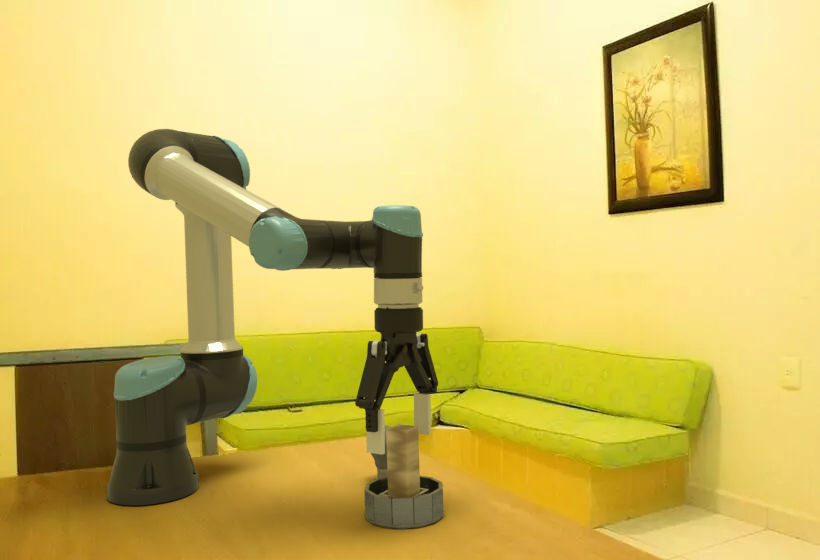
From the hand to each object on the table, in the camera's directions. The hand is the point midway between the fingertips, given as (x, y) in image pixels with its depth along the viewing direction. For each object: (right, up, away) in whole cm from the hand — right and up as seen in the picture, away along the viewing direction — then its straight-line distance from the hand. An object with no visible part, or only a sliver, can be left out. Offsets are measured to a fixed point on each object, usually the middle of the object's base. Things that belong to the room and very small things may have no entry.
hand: (400, 443), depth 111 cm
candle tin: (+1, -11, 0) cm, 11 cm away
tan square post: (+1, -11, 0) cm, 11 cm away
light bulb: (-3, -11, +19) cm, 22 cm away
